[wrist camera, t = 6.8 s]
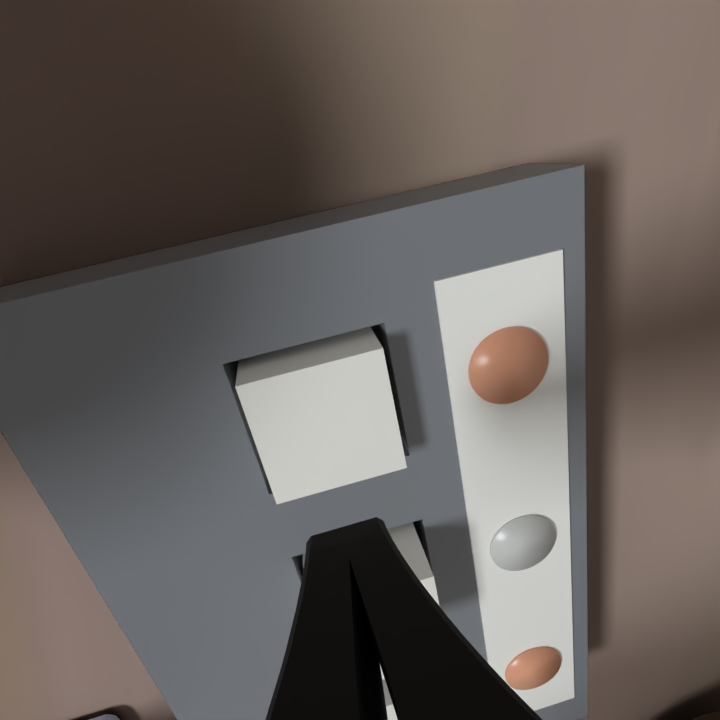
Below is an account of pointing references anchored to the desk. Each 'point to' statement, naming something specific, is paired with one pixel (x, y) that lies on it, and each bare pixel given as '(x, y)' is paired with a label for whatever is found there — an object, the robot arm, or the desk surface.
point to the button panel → (342, 504)
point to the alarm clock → (709, 716)
